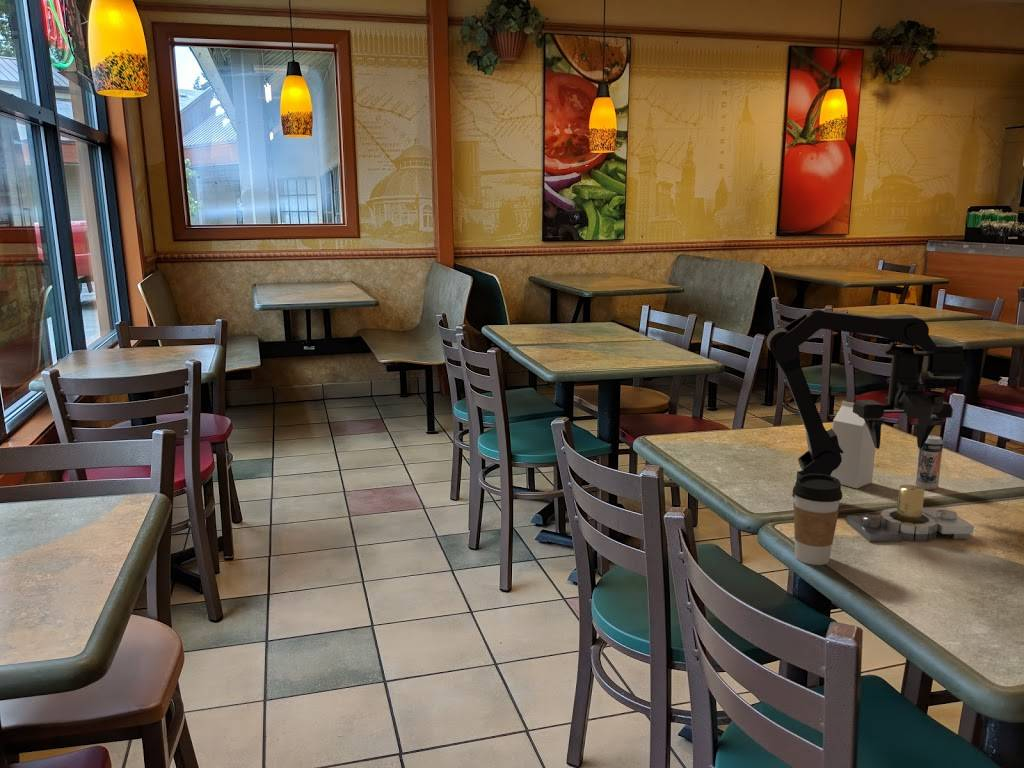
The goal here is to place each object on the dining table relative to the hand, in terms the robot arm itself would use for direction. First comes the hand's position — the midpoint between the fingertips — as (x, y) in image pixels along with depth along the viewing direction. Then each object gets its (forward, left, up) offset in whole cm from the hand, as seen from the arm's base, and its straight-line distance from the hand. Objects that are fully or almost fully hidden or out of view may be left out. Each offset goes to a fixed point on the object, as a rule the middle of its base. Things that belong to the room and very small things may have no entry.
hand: (898, 448), depth 169 cm
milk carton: (-2, +16, -13) cm, 21 cm away
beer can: (+14, +12, -13) cm, 23 cm away
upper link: (-1, -14, -13) cm, 19 cm away
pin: (-4, -14, -13) cm, 20 cm away
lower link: (-7, -14, -13) cm, 20 cm away
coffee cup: (-28, -26, -13) cm, 40 cm away
